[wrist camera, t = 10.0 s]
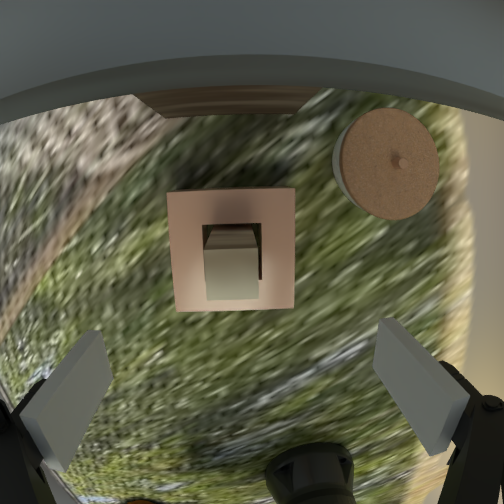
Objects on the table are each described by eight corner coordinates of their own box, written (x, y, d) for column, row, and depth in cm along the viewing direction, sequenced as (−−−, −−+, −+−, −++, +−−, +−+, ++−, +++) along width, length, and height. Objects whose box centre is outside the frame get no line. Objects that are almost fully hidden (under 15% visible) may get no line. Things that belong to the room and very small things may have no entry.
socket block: (286, 290, 38) (293, 308, 33) (183, 294, 37) (176, 311, 32) (286, 186, 35) (294, 188, 30) (176, 189, 34) (166, 192, 30)
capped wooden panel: (304, 158, 34) (580, 132, 4) (157, 163, 34) (-121, 162, 3) (302, 97, 33) (505, -87, 2) (156, 102, 32) (-59, -58, 1)
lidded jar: (330, 219, 36) (361, 235, 27) (310, 126, 33) (335, 111, 24) (410, 200, 36) (456, 210, 27) (394, 113, 33) (436, 100, 24)
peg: (251, 258, 37) (258, 298, 25) (215, 259, 36) (206, 300, 25) (250, 223, 36) (257, 248, 24) (214, 224, 36) (203, 249, 24)
